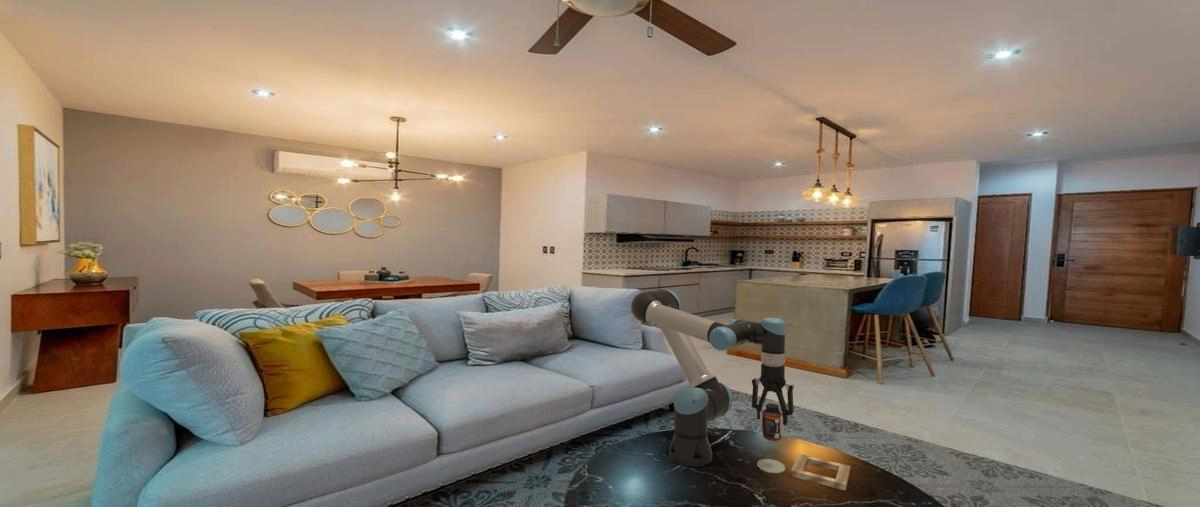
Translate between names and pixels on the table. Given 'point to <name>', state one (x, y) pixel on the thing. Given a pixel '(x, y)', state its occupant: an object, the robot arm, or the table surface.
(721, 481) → the table surface
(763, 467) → the cream flat disc
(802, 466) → the oak holder
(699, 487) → the table surface
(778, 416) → the supplement bottle
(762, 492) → the table surface
